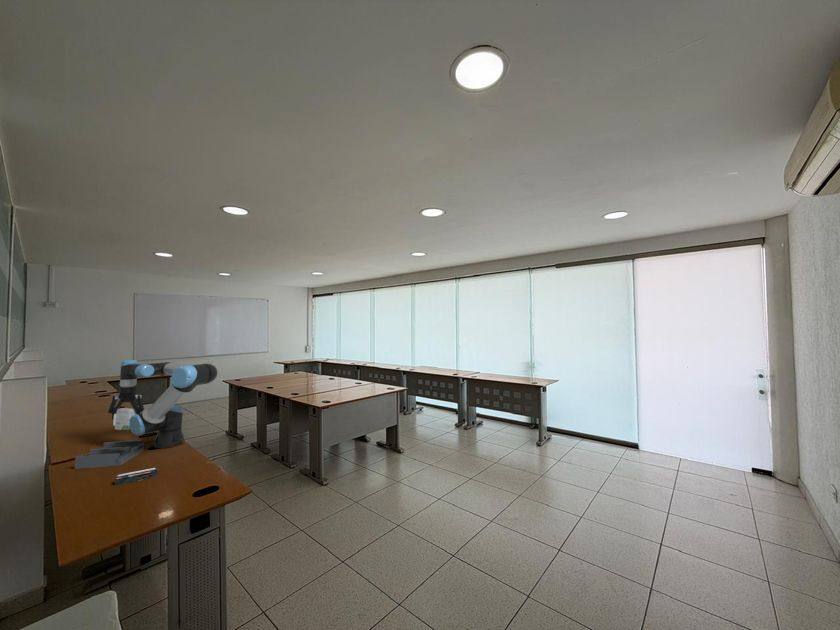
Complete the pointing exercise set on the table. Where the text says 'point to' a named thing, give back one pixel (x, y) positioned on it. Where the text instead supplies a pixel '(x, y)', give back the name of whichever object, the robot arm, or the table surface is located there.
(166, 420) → the robot arm
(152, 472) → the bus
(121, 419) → the ink box
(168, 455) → the table surface
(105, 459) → the rack
